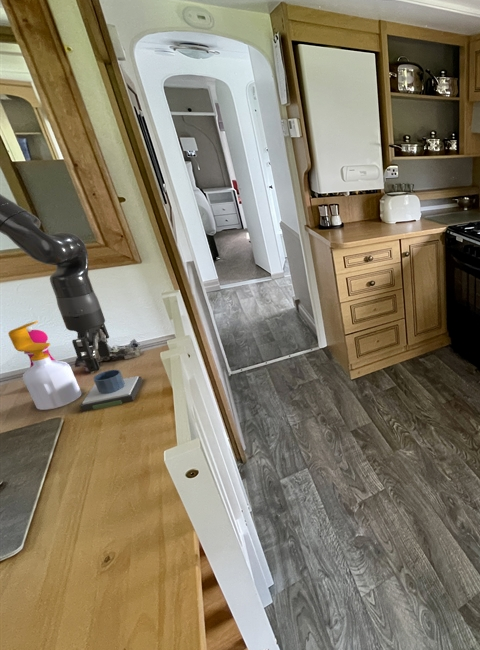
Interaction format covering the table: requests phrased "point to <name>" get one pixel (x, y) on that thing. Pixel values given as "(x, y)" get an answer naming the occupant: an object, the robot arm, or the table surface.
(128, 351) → the foil
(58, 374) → the spray bottle
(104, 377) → the bowl
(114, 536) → the table surface
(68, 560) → the table surface
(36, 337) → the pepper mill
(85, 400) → the scale
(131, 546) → the table surface
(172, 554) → the table surface
